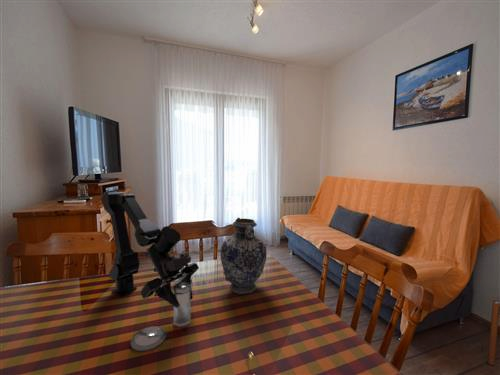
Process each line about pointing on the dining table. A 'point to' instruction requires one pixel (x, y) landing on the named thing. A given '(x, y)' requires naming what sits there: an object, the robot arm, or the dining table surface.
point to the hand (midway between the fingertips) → (185, 302)
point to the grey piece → (182, 304)
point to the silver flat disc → (148, 338)
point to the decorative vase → (243, 257)
